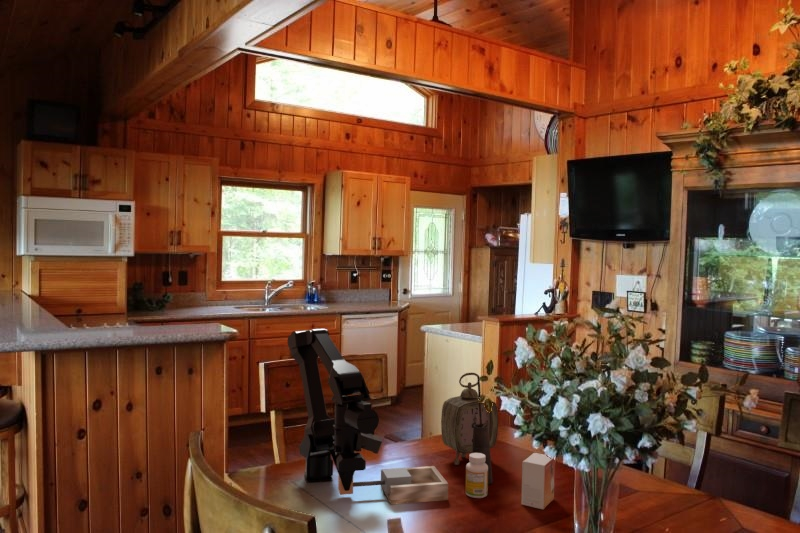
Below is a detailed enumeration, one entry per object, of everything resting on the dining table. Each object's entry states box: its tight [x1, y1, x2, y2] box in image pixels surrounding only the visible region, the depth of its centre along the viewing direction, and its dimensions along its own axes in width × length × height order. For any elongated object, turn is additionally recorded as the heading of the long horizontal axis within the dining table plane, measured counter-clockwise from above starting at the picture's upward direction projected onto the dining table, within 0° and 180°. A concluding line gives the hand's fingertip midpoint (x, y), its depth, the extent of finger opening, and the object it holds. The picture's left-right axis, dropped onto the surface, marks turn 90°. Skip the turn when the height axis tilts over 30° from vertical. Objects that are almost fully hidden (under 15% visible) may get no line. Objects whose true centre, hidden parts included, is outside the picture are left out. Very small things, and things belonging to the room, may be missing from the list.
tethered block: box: [337, 467, 411, 496], centre depth 154 cm, size 17×6×4 cm, turn 103°
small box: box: [520, 452, 556, 510], centre depth 152 cm, size 8×6×10 cm
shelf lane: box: [380, 465, 449, 505], centre depth 156 cm, size 14×12×4 cm
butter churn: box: [472, 374, 493, 486], centre depth 164 cm, size 9×10×28 cm
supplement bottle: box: [465, 453, 489, 499], centre depth 155 cm, size 5×5×10 cm
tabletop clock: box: [440, 372, 499, 466], centre depth 180 cm, size 14×9×25 cm, turn 118°
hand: (345, 487), depth 152 cm, fingers closed on tethered block, 4 cm apart
